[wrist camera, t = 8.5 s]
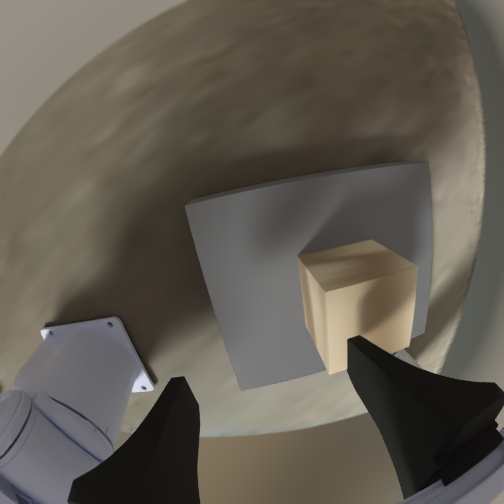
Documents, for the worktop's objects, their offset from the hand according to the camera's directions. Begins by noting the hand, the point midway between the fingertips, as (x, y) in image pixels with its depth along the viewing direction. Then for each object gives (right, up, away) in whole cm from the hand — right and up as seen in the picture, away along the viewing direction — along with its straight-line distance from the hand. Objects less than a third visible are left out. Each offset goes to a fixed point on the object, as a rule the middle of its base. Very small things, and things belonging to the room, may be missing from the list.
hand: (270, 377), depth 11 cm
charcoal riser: (+4, +4, +9) cm, 11 cm away
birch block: (+5, +3, +6) cm, 8 cm away
